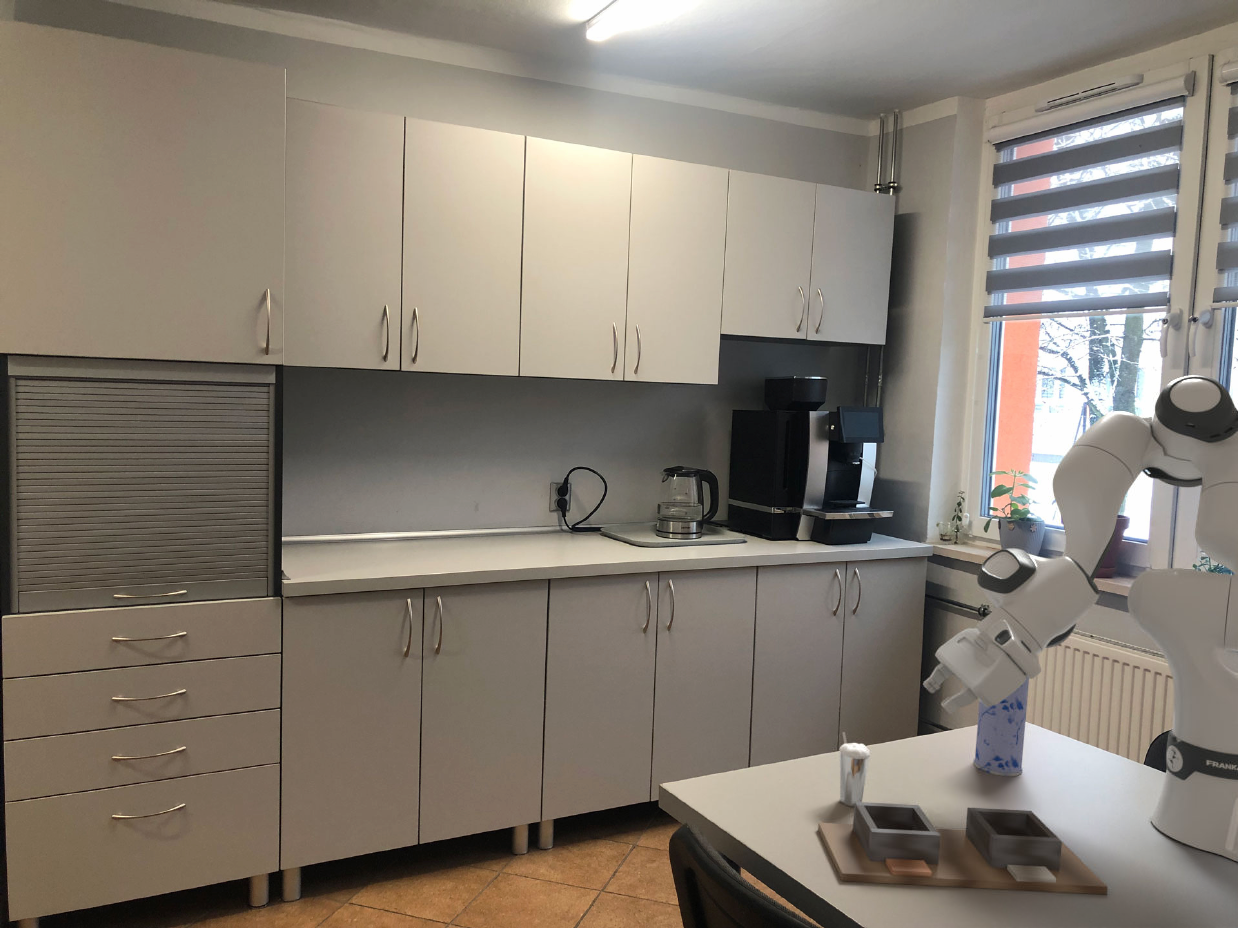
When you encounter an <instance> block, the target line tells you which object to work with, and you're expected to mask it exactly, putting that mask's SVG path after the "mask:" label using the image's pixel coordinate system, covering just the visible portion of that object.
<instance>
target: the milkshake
mask: <svg viewBox="0 0 1238 928" xmlns="http://www.w3.org/2000/svg"><path fill="white" fill-rule="evenodd" d="M842 738H843V744H842V745H841V746H840V747H839V769H840V771H839V773H840V777H839V779H840V782H839V783H840V787H839V788H840V791H839V795H840V798H839V801H840V803H842V804H843V805H844V806H846V807H847V806H848V807H850V808H851V807H853V808H854V803H855V802H863V799H864V798H863V797H864V790H865V786H866V785H865V784H866V778H867V773H868V768H869V767H868V766H869V761H870V755H871V751H870V750H869V749H868V748H867V746H866V745H865V744H864V743H857V742H850V743H847V742H848V741H847V736H846V732H845V731H842Z"/></svg>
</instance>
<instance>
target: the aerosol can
mask: <svg viewBox="0 0 1238 928" xmlns="http://www.w3.org/2000/svg"><path fill="white" fill-rule="evenodd" d="M1029 685H1030V679H1029V678H1028V677H1026V680H1025V682H1024V683H1023V684H1022V685H1021V686H1020V687H1019V688H1018V689H1017V690H1015V691H1014V692H1013V693H1012V694H1010V695H1009V696H1008V697H1006V698H1005V699H1004V700H1002V701H1001V702H999V703H998V704H996V705H993V706H989V707H987V706H985V705H984V704H983V703H982V702H981V701H980V700H979V705H978V715H977V729H976V740H975V741H976V742H975V754H974V759H973V765H974V766H975V767H976V768H977V769H979V770H981V771H983V772H985V773H989V774H992V775H995V776H1001V777H1018V776H1020V775H1022V773H1023V767H1022V765H1023V755H1024V742H1025V741H1024V740H1025V732H1026V731H1025V730H1026V718H1027V706H1028V695H1029Z"/></svg>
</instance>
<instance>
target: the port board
mask: <svg viewBox="0 0 1238 928" xmlns="http://www.w3.org/2000/svg"><path fill="white" fill-rule="evenodd" d="M966 810H967V811H966V822H965V829H952V828H951V829H949V828H948V829H947V828H945V829H944V828H936V827H935V826H934V825H933V822H931V821H930V819H929V818H928V816H927V815H926V813H924V811H923V810H922V808H921V807H920V805H919V804H909V803H908V804H906V803H887V802H884V803H883V802H865V801H864V802H863V801H862V802H855V803H854V807H853V820H852V821H853V822H852V823H851V824H849V823H835V822H834V823H830V822H818V827H817V829H818V832H819V834H820V837H821V838H822V841H823V843H824V845H825V848H826V850H827V851H828V855H829V856H830V858H831V860H832V863H833V865H834V867H835V869H836V871H837V873H838V876H839V878H840V880H841V882H852V883H853V882H855V883H873V884H879V883H880V884H895V885H897V884H898V885H912V886H913V885H917V886H933V887H934V886H935V887H954V888H955V887H956V888H973V889H974V888H975V889H991V890H993V889H995V890H1014V891H1029V892H1031V891H1032V892H1033V891H1034V892H1051V893H1053V892H1054V893H1073V894H1093V895H1095V894H1096V895H1108V886H1107V884H1106V883H1104V882H1103V881H1102V880H1101V878H1099V877H1098V876H1097V875H1096V874H1095V873H1094V871H1092V869H1090V868H1089V867H1088V866H1087V865H1086V864H1085V863H1084V862H1083V861H1082V860H1081V859H1080V858H1079V856H1077V855H1076V854H1075V853H1074V851H1072V850H1071V848H1069V847H1068V846H1067V845H1066V844H1065V843H1064V842H1063V841H1062V840H1061V838H1059V837H1058V836H1057V835H1056V833H1054V832H1053V831H1052V829H1050V828H1049V827H1048V826H1047V825H1046V824H1045V823H1044V822H1043V821H1042V820H1041V819H1040V818H1039V817H1038V816H1037V815H1036V814H1035V812H1033V811H1032V810H1024V809H1023V810H1022V809H1004V808H1002V809H1001V808H984V807H983V808H982V807H981V808H980V807H967V809H966Z"/></svg>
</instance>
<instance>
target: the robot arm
mask: <svg viewBox="0 0 1238 928" xmlns="http://www.w3.org/2000/svg"><path fill="white" fill-rule="evenodd" d="M1142 472H1143V473H1144V474H1145V475H1146V476H1147V477H1148V478H1151V479H1154V480H1159V481H1161V482H1163V483H1165V484H1166V485H1167V484H1168V485H1171V486H1175V487H1179V488H1196V487H1199V486H1201V487H1200V488H1201V489H1200V495H1199V501H1198V507H1197V514H1196V523H1195V527H1194V528H1195V530H1194V538H1195V541H1196V544H1197V546H1198V547H1199V549H1200V550H1201V551H1202V552H1203V553H1204V554H1205V555H1206V556H1207V557H1208V558H1209V559H1211V560H1212V561H1213V562H1216V563H1217V564H1219V565H1221V566H1222V567H1224V568H1227V569H1228V570H1230V571H1231V572H1232V573H1233V574H1228V573H1219V572H1214V571H1213V572H1212V571H1206V570H1205V571H1204V570H1196V569H1188V568H1181V567H1180V568H1156V569H1155V568H1153V569H1146V570H1144V571H1143V572H1142V573H1141V574H1139V575H1138V576H1137V577H1135V579H1134V581H1133V582H1132V583H1131V585H1130V587H1129V589H1128V594H1127V608H1128V613H1129V616H1130V617H1131V620H1132V621H1133V622H1134V624H1135V626H1136V627H1137V628H1138V629H1139V630H1140V631H1141V632H1143V633H1144V634H1145V635H1146V636H1147V637H1148V638H1149V640H1151V641H1152V642H1153V644H1154V645H1156V646H1157V648H1158V649H1159V651H1160V653H1162V656H1163V657H1164V658H1165V661H1166V662H1167V665H1168V668H1169V670H1170V673H1171V678H1172V682H1173V717H1172V718H1173V719H1172V729H1171V730H1170V729H1169V731H1168V736H1167V743H1166V754H1165V761H1166V762H1165V764H1166V772H1165V777H1164V780H1163V784H1162V785H1163V786H1162V789H1161V793H1160V795H1159V797H1158V801H1157V804H1156V806H1155V808H1154V811H1153V812H1152V815H1151V816H1150V821H1151V822H1152V824H1153V826H1154V827H1155V828H1156V829H1158V830H1159V831H1160V832H1161V833H1164V835H1166V836H1169V837H1170V838H1172V839H1174V840H1176V841H1178V842H1180V843H1182V844H1184V845H1185V844H1186V845H1188V846H1190V847H1194V848H1196V849H1200V850H1203V851H1207V852H1210V853H1214V854H1217V855H1221V856H1223V857H1225V858H1228V859H1230V860H1233V861H1235V862H1237V863H1238V673H1237V672H1235V671H1233V670H1232V669H1230V668H1228V667H1227V666H1226V665H1225V664H1224V663H1223V662H1222V661H1221V659H1220V657H1219V655H1218V651H1221V650H1226V651H1231V652H1238V409H1237V407H1236V406H1235V404H1234V401H1233V398H1232V396H1231V395H1230V393H1229V391H1228V390H1227V389H1226V387H1225V386H1224V385H1223V384H1222V383H1220V382H1219V381H1218V380H1215V379H1213V378H1212V377H1209V376H1206V375H1197V374H1196V375H1194V374H1193V375H1192V374H1191V375H1185V376H1182V377H1178V378H1176V379H1173V380H1172V381H1170V382H1169V383H1167V384H1166V386H1165V387H1164V388H1163V389H1162V390H1161V392H1160V393H1159V395H1158V398H1157V400H1156V402H1155V405H1154V415H1153V417H1152V416H1149V417H1142V416H1139V415H1137V414H1135V413H1132V412H1128V411H1123V410H1117V411H1111V412H1108V413H1106V414H1104V415H1103V416H1102V417H1100V418H1099V419H1098V420H1096V421H1095V422H1094V423H1093V424H1092V425H1091V426H1090V427H1088V428H1087V429H1086V430H1085V432H1083V434H1082V435H1081V436H1080V437H1079V438H1077V440H1076V441H1075V443H1074V444H1073V445H1072V447H1070V449H1069V450H1068V451H1067V453H1066V454H1065V455H1064V456H1063V458H1062V459H1061V461H1060V462H1059V464H1058V466H1057V468H1056V470H1055V472H1054V475H1053V477H1052V491H1053V496H1054V499H1055V503H1056V505H1057V507H1058V510H1059V513H1060V516H1061V520H1062V523H1063V527H1064V533H1065V545H1064V546H1065V547H1064V551H1063V553H1062V556H1060V557H1055V558H1048V557H1042V556H1038V555H1034V554H1031V553H1027V552H1026V551H1025V550H1023V549H1021V548H1017V547H1016V548H1015V547H1011V548H1010V547H1009V548H1003V549H1000V550H998V551H996V552H994V553H992V554H991V555H989V556H988V557H987V558H986V559H985V560H984V561H983V562H982V564H981V565H980V566H979V569H978V573H977V577H976V579H977V585H978V586H979V587H980V590H981V591H982V594H984V596H985V597H986V599H987V600H988V601H989V602H990V603H991V604H992V606H993V608H994V610H993V611H991V612H990V613H989V614H988V615H986V617H984V618H983V619H982V620H981V621H979V622H978V623H977V624H976V625H975V627H974V628H971V627H969V628H965V629H964V630H961V631H960V632H959V633H957V634H955V635H954V636H953V637H951V638H950V639H949V640H948V641H946V642H945V643H944V644H942V645H941V646H940V647H939V648H938V649H937V650H936V652H935V654H934V656H935V657H936V658H937V660H938V661H939V662H940V663H939V664H938V665H937V666H935V668H934V670H933V671H932V672H931V674H930V676H929V677H928V678H927V679H926V680H924V681H923V683H922V684H923V687H924V688H926V690H927V691H928V692H929V693H931V694H934V693H935V692H937V690H939V689H940V688H941V684H942V683H943V682H944V681H945V680H946V679H949V678H951V677H952V676H954V677H955V678H956V679H957V680H958V681H959V682H960V683H961V684H962V685H963V686H962V687H961V688H960V690H959V692H957V693H956V694H954V695H952V696H950V695H948V696H946V698H944V699H943V700H942V701H941V703H940V705H941V707H943V708H944V710H945V711H946V713H948V714H950V715H952V714H954V713H955V712H956V711H958V710H959V709H960V708H964V707H967V706H970V705H972V704H974V703H975V702H976V701H977V700H978V701H979V702H980V701H981V702H982V703H983V704H984V705H985V706H987V707H989V706H993V705H996V704H998V703H999V702H1001V701H1002V700H1004V699H1005V698H1006V697H1008V696H1009V695H1010V694H1012V693H1013V692H1014V691H1015V690H1017V689H1018V688H1019V687H1020V686H1021V685H1022V684H1023V683H1024V682H1025V680H1026V677H1028V678H1029V680H1031V679H1032V680H1033V679H1034V678H1036V677H1037V676H1039V674H1041V672H1042V667H1041V665H1040V662H1039V661H1040V660H1039V656H1038V655H1040V654H1041V653H1042V652H1043V651H1044V650H1045V649H1049V648H1053V647H1057V646H1060V644H1062V643H1064V642H1065V641H1066V640H1067V639H1069V637H1070V636H1072V633H1073V632H1074V629H1075V627H1076V625H1077V623H1078V622H1079V621H1080V620H1081V619H1082V618H1084V616H1085V615H1086V614H1087V613H1089V611H1091V609H1092V608H1093V607H1094V605H1095V604H1096V603H1097V601H1098V600H1099V597H1100V591H1099V587H1098V586H1097V584H1096V583H1095V582H1094V580H1095V578H1096V576H1097V574H1098V572H1099V571H1100V569H1101V567H1102V564H1103V563H1104V561H1105V558H1106V556H1107V555H1108V552H1109V551H1110V549H1111V546H1112V543H1113V541H1114V538H1115V535H1116V534H1115V533H1116V524H1117V521H1118V520H1117V519H1118V516H1119V513H1120V509H1121V506H1122V504H1123V502H1124V499H1125V498H1126V496H1127V494H1128V492H1129V490H1130V489H1131V486H1132V485H1133V484H1134V482H1135V481H1136V480H1137V478H1138V477H1139V475H1140V474H1141V473H1142Z"/></svg>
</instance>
